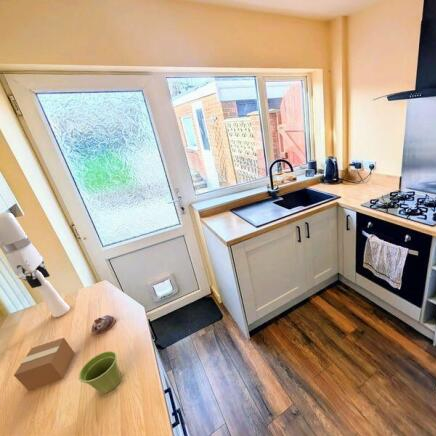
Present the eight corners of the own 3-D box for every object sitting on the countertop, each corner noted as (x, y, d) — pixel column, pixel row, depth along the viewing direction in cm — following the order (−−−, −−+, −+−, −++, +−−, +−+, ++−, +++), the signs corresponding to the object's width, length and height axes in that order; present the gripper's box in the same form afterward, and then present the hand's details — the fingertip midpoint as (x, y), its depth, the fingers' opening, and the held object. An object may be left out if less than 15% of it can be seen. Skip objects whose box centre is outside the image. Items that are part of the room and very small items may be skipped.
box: (27, 391, 76) (12, 374, 73) (43, 363, 85) (31, 347, 82) (63, 378, 79) (50, 362, 76) (75, 352, 88) (64, 337, 84)
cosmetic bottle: (55, 319, 105) (26, 278, 95) (50, 314, 108) (22, 274, 98) (72, 309, 109) (46, 269, 100) (67, 305, 112) (41, 265, 103)
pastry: (92, 338, 93) (86, 328, 91) (91, 326, 98) (86, 317, 96) (117, 326, 97) (111, 316, 95) (114, 315, 103) (109, 306, 101)
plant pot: (84, 396, 73) (70, 378, 69) (111, 366, 81) (100, 348, 78) (108, 403, 71) (95, 384, 67) (134, 371, 79) (123, 353, 75)
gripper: (17, 237, 100) (40, 273, 108) (-12, 258, 85) (17, 298, 93) (39, 232, 102) (61, 268, 110) (15, 252, 87) (42, 291, 95)
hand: (41, 281), depth 101 cm, fingers open, 5 cm apart
